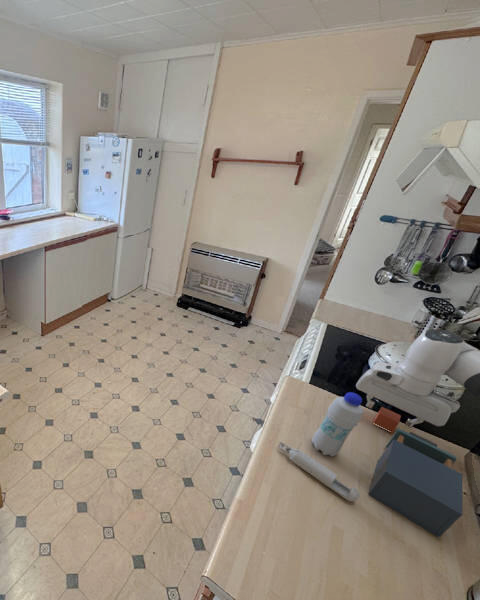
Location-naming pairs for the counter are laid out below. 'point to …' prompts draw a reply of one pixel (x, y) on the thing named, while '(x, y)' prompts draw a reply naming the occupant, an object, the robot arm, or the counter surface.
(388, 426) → the block
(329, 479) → the white cylindrical device
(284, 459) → the counter surface
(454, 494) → the cabinet
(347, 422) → the bottle
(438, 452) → the drawer
